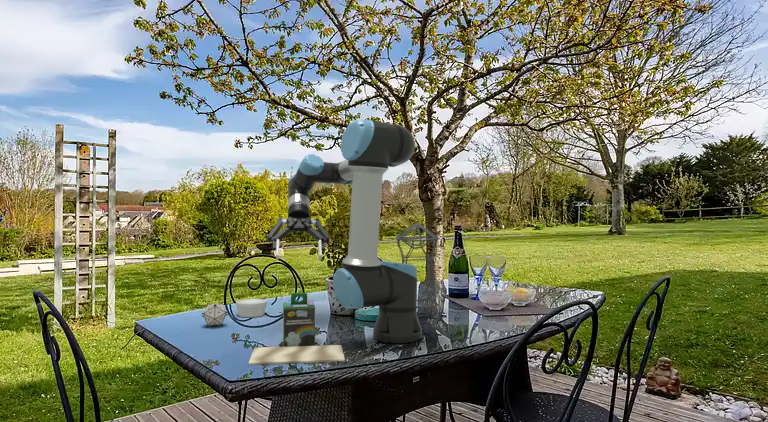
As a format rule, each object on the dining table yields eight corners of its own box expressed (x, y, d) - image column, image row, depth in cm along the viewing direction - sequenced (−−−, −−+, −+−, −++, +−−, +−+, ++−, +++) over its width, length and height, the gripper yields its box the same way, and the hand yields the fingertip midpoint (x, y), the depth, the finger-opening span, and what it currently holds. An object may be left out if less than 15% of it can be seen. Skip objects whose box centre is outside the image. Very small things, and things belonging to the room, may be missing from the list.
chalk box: (313, 338, 147) (313, 289, 147) (315, 346, 138) (316, 294, 138) (282, 339, 145) (282, 290, 145) (282, 348, 136) (283, 295, 136)
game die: (217, 338, 160) (217, 318, 154) (195, 327, 161) (195, 307, 156) (233, 320, 167) (234, 300, 161) (212, 310, 169) (212, 290, 163)
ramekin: (238, 312, 185) (239, 298, 185) (268, 312, 186) (268, 298, 186) (232, 318, 173) (233, 304, 174) (264, 318, 175) (264, 303, 175)
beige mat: (341, 346, 138) (341, 344, 138) (344, 361, 124) (344, 359, 124) (254, 349, 134) (254, 347, 134) (248, 364, 120) (248, 362, 120)
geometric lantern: (441, 320, 174) (440, 223, 174) (397, 321, 174) (396, 224, 174) (436, 311, 190) (434, 222, 190) (396, 311, 190) (394, 222, 189)
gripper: (333, 217, 174) (336, 264, 160) (262, 216, 169) (259, 264, 155) (335, 203, 169) (338, 250, 155) (262, 201, 164) (258, 249, 150)
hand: (298, 257), depth 155 cm, fingers open, 13 cm apart
